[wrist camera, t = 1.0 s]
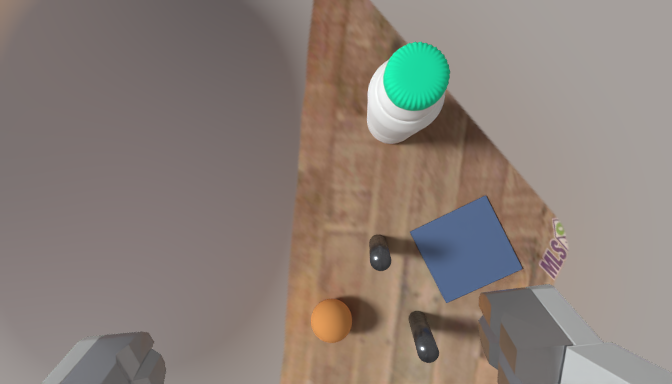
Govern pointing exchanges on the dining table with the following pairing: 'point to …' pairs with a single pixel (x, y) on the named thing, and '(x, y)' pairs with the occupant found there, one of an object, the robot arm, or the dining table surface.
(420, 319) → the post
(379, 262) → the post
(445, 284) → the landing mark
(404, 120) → the water bottle
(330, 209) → the dining table surface
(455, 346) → the dining table surface
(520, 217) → the dining table surface
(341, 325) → the ball
